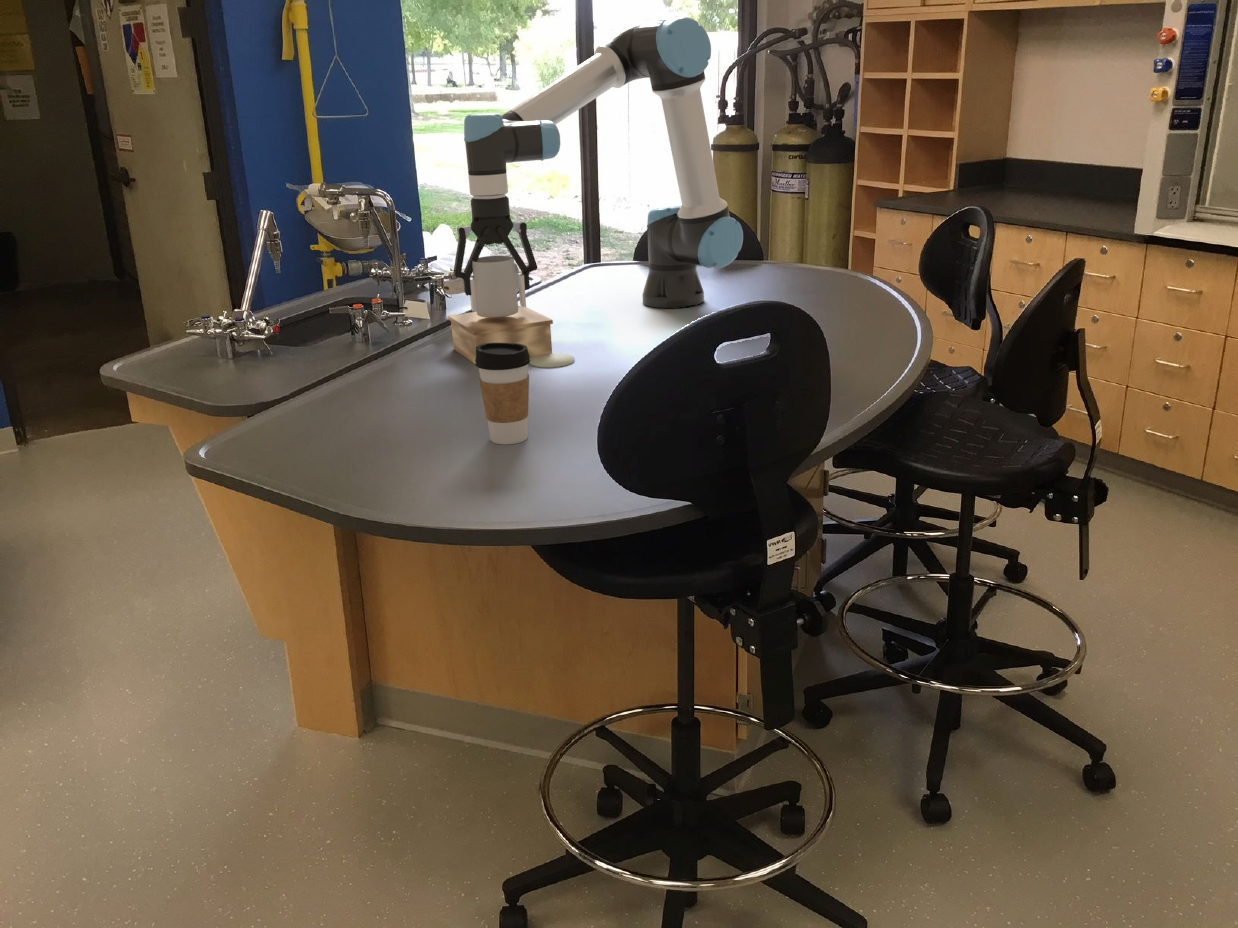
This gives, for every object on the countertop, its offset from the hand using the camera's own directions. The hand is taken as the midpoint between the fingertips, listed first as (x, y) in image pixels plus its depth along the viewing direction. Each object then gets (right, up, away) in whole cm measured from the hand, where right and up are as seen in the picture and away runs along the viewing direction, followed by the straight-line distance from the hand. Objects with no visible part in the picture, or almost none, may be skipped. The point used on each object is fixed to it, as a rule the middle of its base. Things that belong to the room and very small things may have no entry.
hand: (498, 308), depth 208 cm
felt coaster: (+11, -12, -6) cm, 17 cm away
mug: (+1, -1, +1) cm, 1 cm away
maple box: (0, -9, +3) cm, 9 cm away
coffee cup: (+7, -28, -47) cm, 56 cm away
